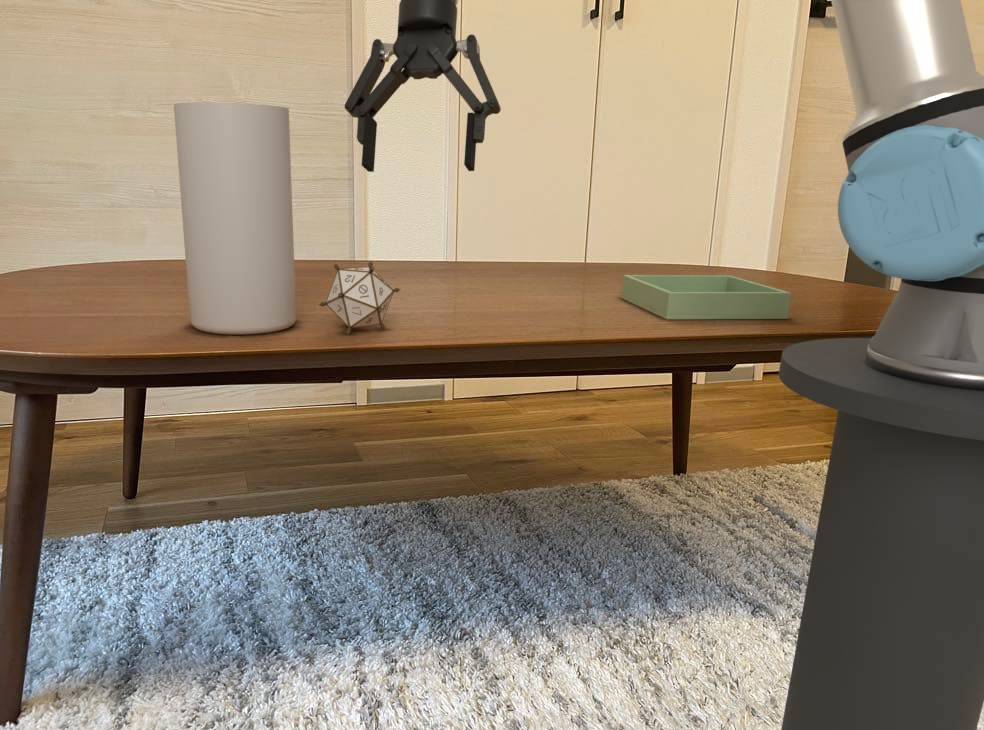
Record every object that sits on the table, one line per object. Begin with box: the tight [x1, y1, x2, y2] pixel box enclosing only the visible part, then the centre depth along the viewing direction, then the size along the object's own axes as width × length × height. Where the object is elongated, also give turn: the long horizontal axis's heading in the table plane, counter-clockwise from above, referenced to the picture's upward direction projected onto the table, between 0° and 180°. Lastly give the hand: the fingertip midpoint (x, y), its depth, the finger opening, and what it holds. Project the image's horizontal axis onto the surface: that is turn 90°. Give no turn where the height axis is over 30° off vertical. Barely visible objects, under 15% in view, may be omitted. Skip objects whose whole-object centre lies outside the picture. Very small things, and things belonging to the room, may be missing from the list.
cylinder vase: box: [173, 101, 297, 336], centre depth 91 cm, size 12×12×25 cm
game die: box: [318, 260, 402, 335], centre depth 93 cm, size 9×8×10 cm
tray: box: [621, 274, 793, 320], centre depth 113 cm, size 18×18×4 cm
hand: (417, 168), depth 100 cm, fingers open, 13 cm apart
